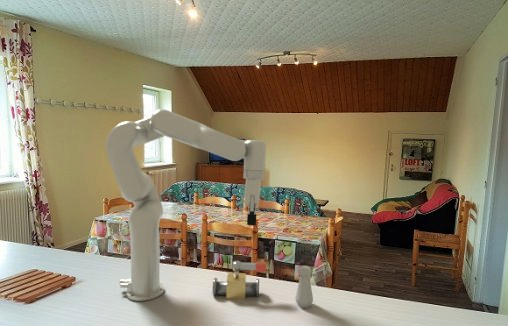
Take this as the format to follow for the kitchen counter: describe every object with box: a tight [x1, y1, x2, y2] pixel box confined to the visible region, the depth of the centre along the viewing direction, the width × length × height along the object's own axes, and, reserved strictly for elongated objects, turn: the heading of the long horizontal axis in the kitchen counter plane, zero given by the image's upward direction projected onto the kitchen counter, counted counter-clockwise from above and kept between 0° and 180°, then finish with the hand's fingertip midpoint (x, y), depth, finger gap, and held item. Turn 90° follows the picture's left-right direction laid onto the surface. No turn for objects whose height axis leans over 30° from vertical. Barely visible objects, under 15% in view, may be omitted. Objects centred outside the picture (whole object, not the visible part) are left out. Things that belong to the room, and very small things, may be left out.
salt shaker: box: [295, 265, 314, 309], centre depth 106 cm, size 6×6×13 cm
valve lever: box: [232, 260, 267, 273], centre depth 111 cm, size 12×3×3 cm, turn 88°
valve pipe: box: [212, 270, 260, 300], centre depth 112 cm, size 16×6×9 cm, turn 90°
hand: (251, 224), depth 115 cm, fingers closed
